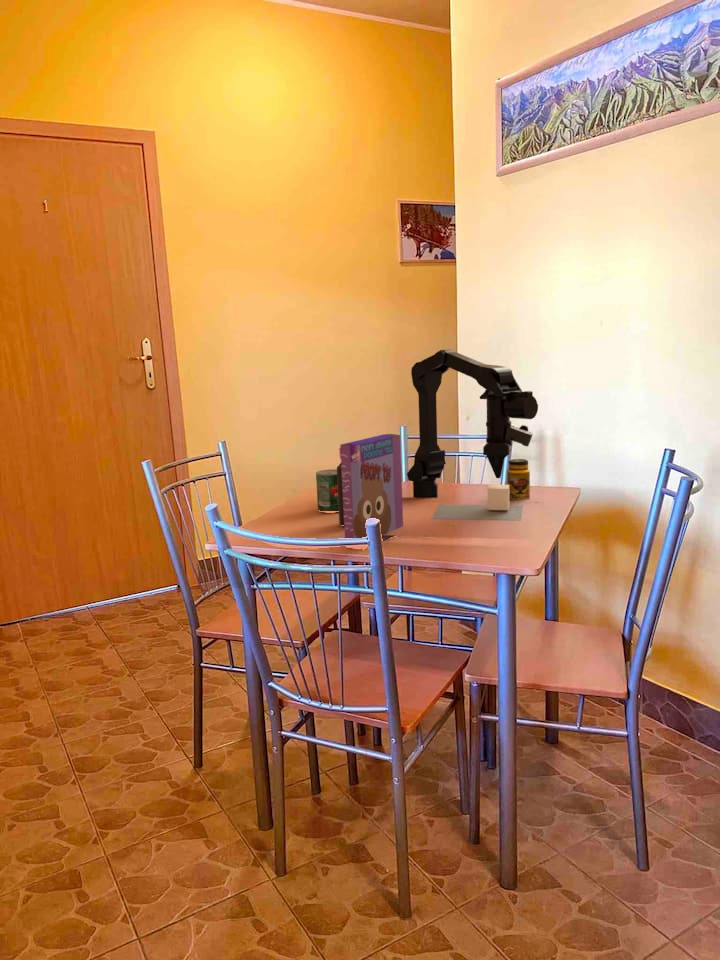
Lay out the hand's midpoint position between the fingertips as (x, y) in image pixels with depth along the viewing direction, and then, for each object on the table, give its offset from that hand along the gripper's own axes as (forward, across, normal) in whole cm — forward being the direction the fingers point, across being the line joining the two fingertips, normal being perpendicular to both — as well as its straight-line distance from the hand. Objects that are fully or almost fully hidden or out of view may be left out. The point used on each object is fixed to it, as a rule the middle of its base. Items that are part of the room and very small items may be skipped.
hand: (498, 477), depth 183 cm
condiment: (+10, +16, -4) cm, 19 cm away
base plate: (+10, -3, +5) cm, 12 cm away
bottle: (+10, -13, +36) cm, 40 cm away
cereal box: (+10, -26, +27) cm, 39 cm away
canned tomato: (+10, +2, +46) cm, 47 cm away
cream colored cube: (+8, 0, 0) cm, 8 cm away
